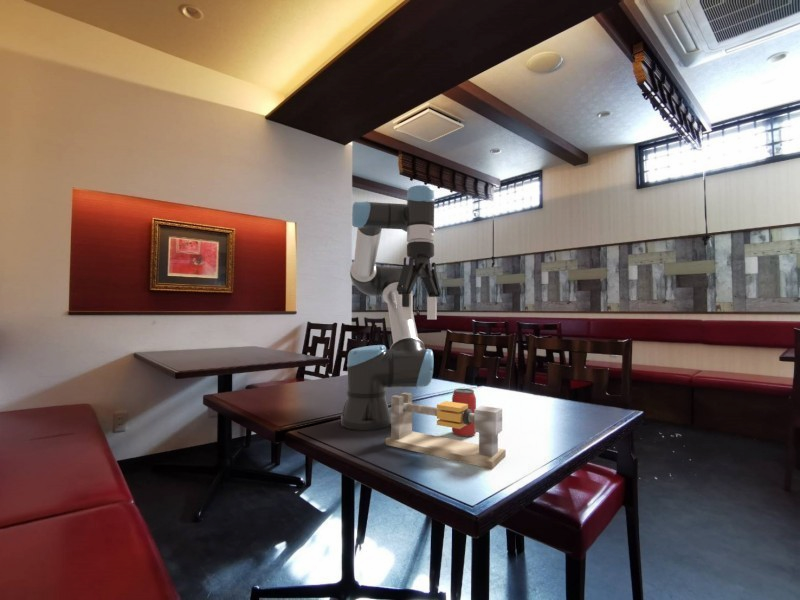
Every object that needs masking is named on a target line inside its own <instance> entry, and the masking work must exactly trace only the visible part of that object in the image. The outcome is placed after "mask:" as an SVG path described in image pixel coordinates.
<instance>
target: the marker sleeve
mask: <svg viewBox="0 0 800 600" xmlns="http://www.w3.org/2000/svg"><path fill="white" fill-rule="evenodd" d="M436 408H437V409H441V410H447V411H454V412H464V411H465V409H468V404H463V403H456V402H452V401H448V400H445V401H442V402H440V403H437V404H436ZM441 410H438V411H437V416H436V419H437V420H436V426H442V427H447V428H451V429H452V428H457V429H461V428H462V427H464V426H466V425H465V424H464V422H463V420H462V414H460V413H454V412H447V411H441Z"/></svg>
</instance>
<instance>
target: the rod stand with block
mask: <svg viewBox="0 0 800 600" xmlns="http://www.w3.org/2000/svg"><path fill="white" fill-rule="evenodd" d="M390 407H391V408H390V410H391V412H390V414H391V424H390V426H391V427H390V428H391V429H390V432H391V434H390V436H388V437H387V438H385V445H386V446H390V447H395V448H399V449H404V450H408V451H411V452H416V453H421V454H425V455H430V456H434V457H438V458H442V459H447V460H452V461H455V462H461V463H465V464H468V465H474V466H477V467H481V468H486V469H492V470H493V469H494V468H495V467H496V466H497V465H499V463H500V462H501V461H503V460H504V458H506V455H507V454H506V452H507V451H506V450H507V449H504V448H499V444H498V442H499V437H498V436H499V434H500V433H501V432H503V408H502V407H501V408H499V407H493V406H487V405H480V406H478V407H476V409H475V410H474V413H473V412H472V410H471V409H465V411H464V412H454V411H447V410H441V409H437V407H434V406H427V405H421V404H414V403H413V393H411V392H402V393H400V395H397V394H395V395H392V396H391V403H390ZM438 410H441V411H447V412H454V413H460V414H462V420H463V422H464V424H465V425H471V423H472V422H475V432H476V433H478V443H475V442H474V443H473V442H468V441H462V440H458V439H454V438H448V437H442V436H437V435H432V434H428V433H427V434H426V433H423V432H418V431H413V413H416V414H421V415H427V416H433V417H437V411H438Z"/></svg>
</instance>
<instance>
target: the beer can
mask: <svg viewBox="0 0 800 600" xmlns="http://www.w3.org/2000/svg"><path fill="white" fill-rule="evenodd" d="M451 402H456V403H463V404H468V409H471V410H472V412H473V413H474V410H475V409H476V408H477V397H476V394H475V390H473V389H470V388H455V389H453V393H452V396H451ZM451 432H452V434H453V435H455V436H457V437H463V438H464V437H465V438H467V437H473V436H475V435H476V433H477V432H475V422H472V423H471V425H466V426H464V427H462V428H461V429H457V428H452V427H451Z"/></svg>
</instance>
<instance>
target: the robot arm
mask: <svg viewBox="0 0 800 600" xmlns="http://www.w3.org/2000/svg"><path fill="white" fill-rule="evenodd" d="M434 191H435V190H434V189H433V187H431V186H428V185H421V184H417V185H413V186H410V187H409V188H408V189H407V194H406V203H391V202H390V203H389V202H376V201H375V202H374V201H367V200H366V201H356V202H355V201H354V202H353V204H352V212H351V224H352V226H353V228H356V239H355V250H354V256H353V257H354V259H353V263H352V264H351V266H350V270H349V275H350V278H351V282H352V283H353V285H354V287H356V289H358V291H360V292H361V293H363V294H364V295H367V296H370V297H371V296H372V297H382V299H383V301H384V302H385V303H386V304H387V309H388V314H389V315H388V316H389V324H390V330H391V338H392V344H391V346H390V348H389V349H387V347H386V345H383V344H377V345H375V344H374V345H368V346H359V347H356V348H352V349H351V350H349V352H348V354H347V364H346V367H347V378H346V380H347V386H346V389H347V390H346V399H345V404H344V406H343V409H342V413H341V415H340V424H341V426H342V427H344V428H346V429H350V430H355V431H356V430H358V431H372V430H379V429H384V428H387V427H389V426H391V412H390V409H389V405H388V402H387V399H386V389H390V388H391V389H394V388H420V387H421V388H422V387H427V386H429V385H430V384H431V382H432V379H433V374H434V366H435V365H434V361H435V360H434V352H433V350H432V349H429V348H426V347H425V346H426V345H425V343H424V341H422V340H421V339H420V338H419V334H418V330H417V326H416V325H417V324H416V322H415V316H414V312H413V306H414V305H413V304H414V303H413V298H414V297H413V296H414V295H415V293H416V287H417V286H416V283H417V280H418V278H420V279H422V282H423V284H424V287H425V289H426V292H427V295H428V296H427V297H426V299H427V300H426V301H427V302H426V304H427V305H426V312H427V313H426V317H427V318H426V320H437V319H438V318H437V316H438V314H437V312H438V311H437V310H438V309H437V307H438V306H437V301H438V299H437V298H438V297H441V294H442V293H441V292H442V291H441V288H440V283H439V279H438V274H437V266H436V262H430V259H431V258H433V257H434V256H435V244H434V243H433V242H435V241H434V240H435V231H436V230H435V201H436V200H435V192H434ZM382 229H383V230H384V229H385V230H386V229H387V230H388V229H389V230H390V229H391V230H402V231H403V232H406V242H407V244H406V256H407V257H404V258H403V264H402V266H383V265H382V266H379V265H378V266H377V265H376V260H377V256H378V252H379V245H380V240H381V235H382V231H383V230H382Z"/></svg>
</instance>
